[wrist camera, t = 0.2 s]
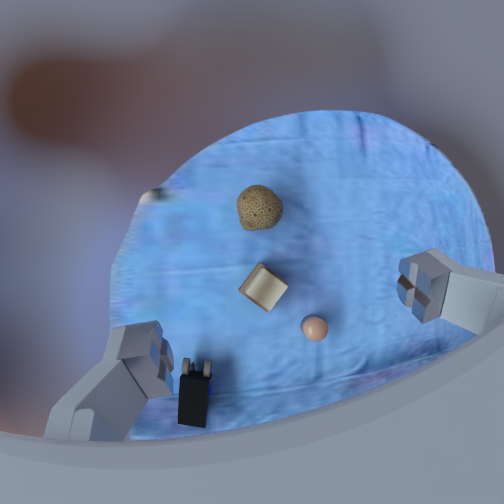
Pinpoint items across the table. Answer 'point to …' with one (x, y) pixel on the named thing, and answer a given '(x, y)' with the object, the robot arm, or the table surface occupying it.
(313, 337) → the tan rounded cylinder
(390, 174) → the table surface
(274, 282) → the tower top
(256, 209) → the natural sponge
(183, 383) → the toy car
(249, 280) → the tower base
